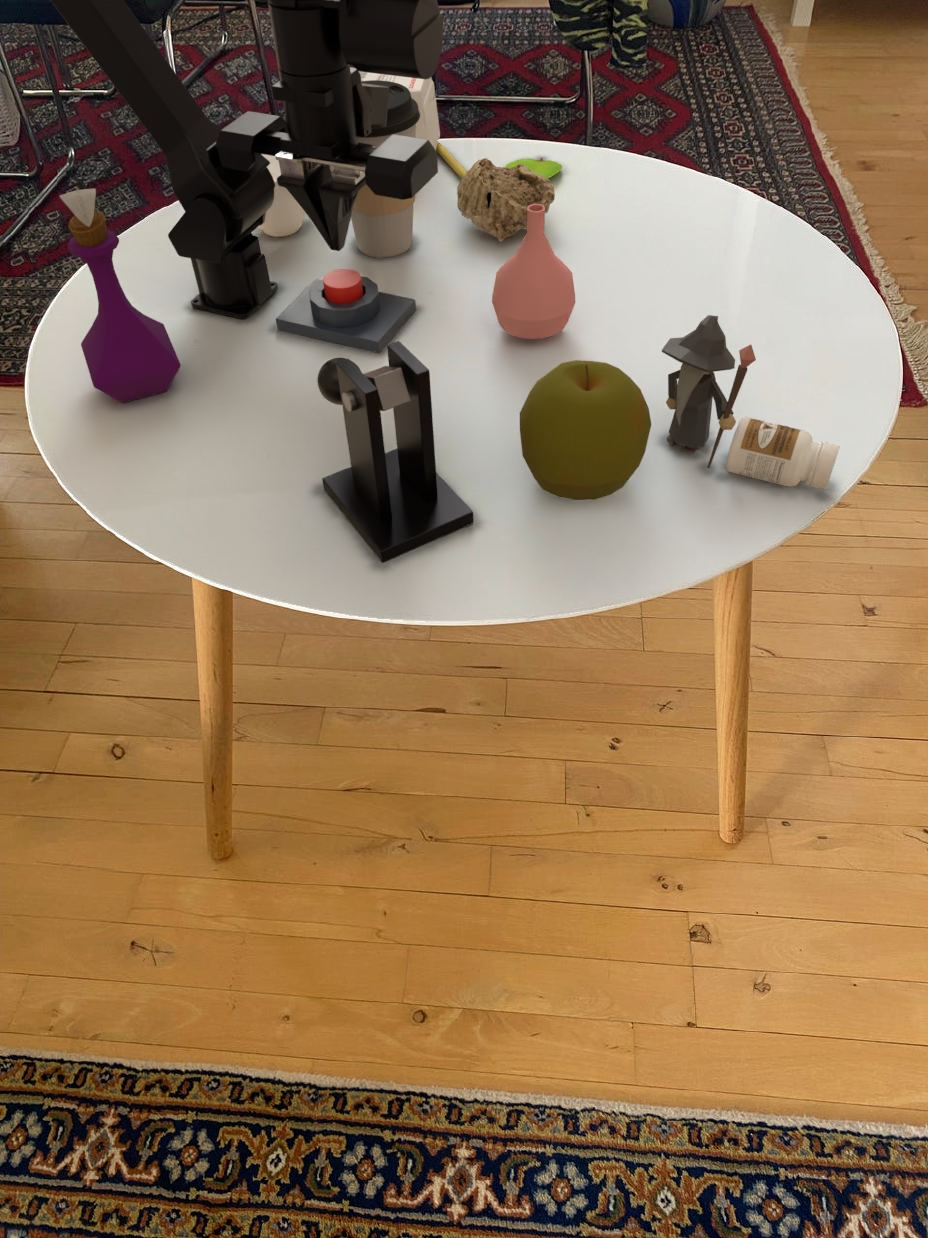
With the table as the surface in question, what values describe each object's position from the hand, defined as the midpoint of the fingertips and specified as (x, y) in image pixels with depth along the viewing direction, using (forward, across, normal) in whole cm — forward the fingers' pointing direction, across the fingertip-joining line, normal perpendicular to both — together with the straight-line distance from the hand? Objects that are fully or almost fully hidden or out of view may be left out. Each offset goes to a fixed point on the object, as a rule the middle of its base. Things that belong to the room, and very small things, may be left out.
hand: (337, 248), depth 90 cm
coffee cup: (+8, +3, -14) cm, 17 cm away
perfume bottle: (+8, +12, +16) cm, 22 cm away
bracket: (+7, -17, +22) cm, 29 cm away
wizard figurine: (+7, -36, +7) cm, 38 cm away
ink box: (+3, +18, -32) cm, 37 cm away
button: (+5, 0, 0) cm, 5 cm away
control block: (+7, 0, 0) cm, 7 cm away
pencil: (+6, +4, -34) cm, 35 cm away
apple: (+7, -29, +14) cm, 33 cm away
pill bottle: (+5, -39, +8) cm, 40 cm away
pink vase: (+8, -18, -4) cm, 20 cm away
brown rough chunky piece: (+7, -7, -23) cm, 25 cm away
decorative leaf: (+9, -6, -36) cm, 38 cm away
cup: (+8, +15, -15) cm, 23 cm away
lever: (0, -14, +21) cm, 25 cm away
